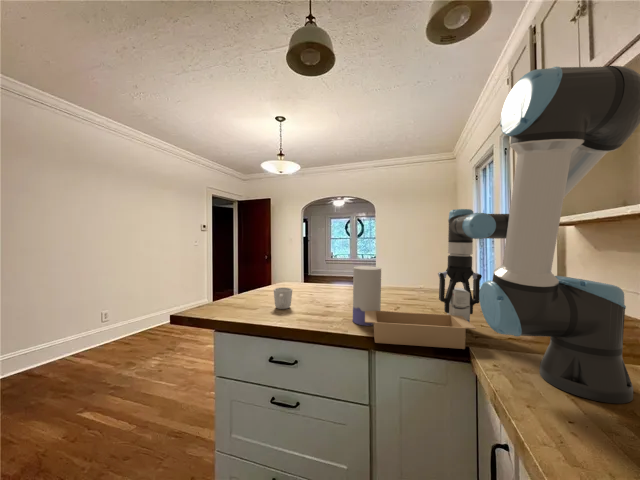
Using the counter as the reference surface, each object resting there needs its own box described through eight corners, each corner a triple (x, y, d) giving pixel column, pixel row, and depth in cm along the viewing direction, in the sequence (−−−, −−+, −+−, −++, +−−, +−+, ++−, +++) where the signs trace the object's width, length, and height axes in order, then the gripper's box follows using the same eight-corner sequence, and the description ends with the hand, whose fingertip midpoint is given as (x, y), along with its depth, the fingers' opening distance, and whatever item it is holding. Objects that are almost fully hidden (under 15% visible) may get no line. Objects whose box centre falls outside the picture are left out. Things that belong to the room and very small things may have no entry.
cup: (290, 312, 116) (290, 292, 116) (270, 312, 116) (270, 292, 116) (293, 305, 127) (293, 287, 127) (275, 305, 127) (275, 287, 127)
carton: (476, 349, 81) (476, 328, 81) (364, 341, 86) (365, 322, 86) (460, 333, 94) (461, 315, 94) (364, 327, 99) (364, 310, 99)
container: (385, 321, 106) (386, 267, 105) (370, 328, 98) (371, 270, 98) (362, 316, 112) (363, 265, 112) (347, 321, 105) (348, 267, 104)
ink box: (469, 328, 94) (470, 292, 93) (453, 327, 95) (454, 291, 94) (462, 320, 102) (463, 287, 102) (447, 319, 103) (448, 286, 103)
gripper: (483, 254, 100) (482, 320, 101) (429, 253, 103) (428, 318, 104) (493, 256, 93) (491, 328, 93) (434, 255, 95) (433, 324, 96)
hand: (458, 322), depth 98 cm, fingers closed on ink box, 5 cm apart
